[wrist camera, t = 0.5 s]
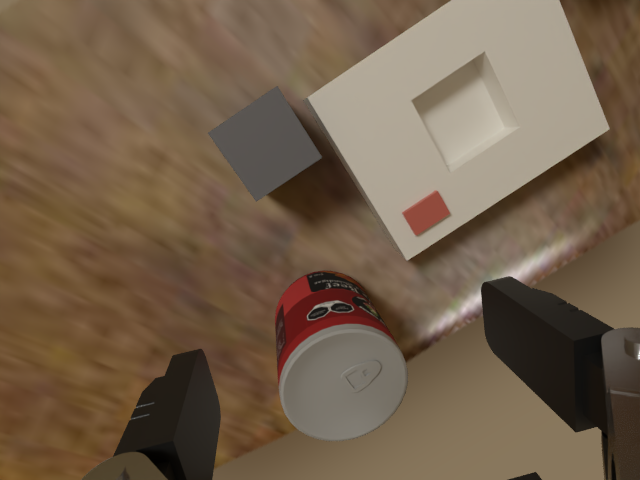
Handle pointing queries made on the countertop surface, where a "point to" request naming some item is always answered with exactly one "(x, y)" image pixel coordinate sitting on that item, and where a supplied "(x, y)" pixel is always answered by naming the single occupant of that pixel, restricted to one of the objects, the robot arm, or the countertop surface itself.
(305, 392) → the canned food
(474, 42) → the socket plate
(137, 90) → the countertop surface
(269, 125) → the dark grey cube
